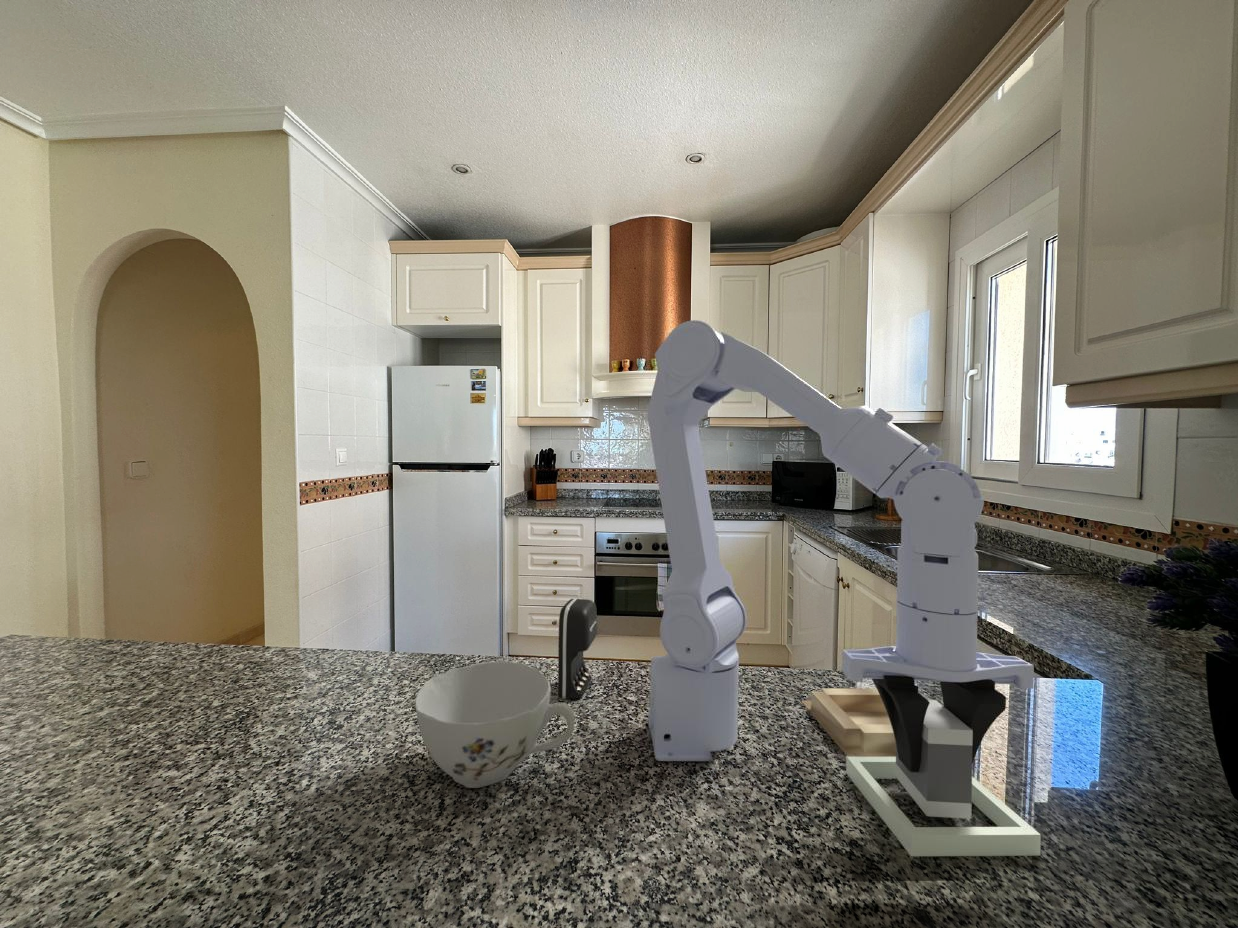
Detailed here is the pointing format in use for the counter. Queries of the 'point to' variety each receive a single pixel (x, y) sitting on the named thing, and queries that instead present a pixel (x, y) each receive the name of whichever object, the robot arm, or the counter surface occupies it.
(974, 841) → the tray
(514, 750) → the teacup
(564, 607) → the black battery charger
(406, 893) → the counter surface
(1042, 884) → the counter surface
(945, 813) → the grey rectangular block
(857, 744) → the tray
